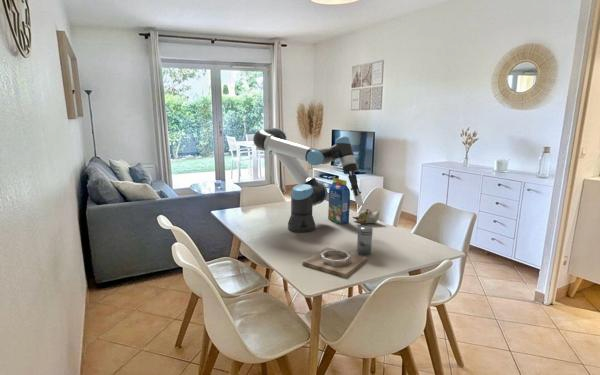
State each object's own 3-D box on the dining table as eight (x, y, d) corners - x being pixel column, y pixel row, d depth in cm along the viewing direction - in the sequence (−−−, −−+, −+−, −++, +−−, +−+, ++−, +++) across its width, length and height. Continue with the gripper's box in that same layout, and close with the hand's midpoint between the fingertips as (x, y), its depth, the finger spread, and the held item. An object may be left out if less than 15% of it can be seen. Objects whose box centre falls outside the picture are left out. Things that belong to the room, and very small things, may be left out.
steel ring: (315, 260, 149) (315, 256, 149) (330, 251, 159) (330, 247, 158) (341, 267, 142) (341, 263, 142) (354, 258, 152) (354, 253, 152)
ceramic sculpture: (381, 211, 199) (354, 212, 200) (381, 225, 201) (354, 227, 202) (377, 206, 210) (352, 207, 210) (377, 220, 211) (352, 221, 212)
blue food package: (336, 217, 216) (337, 177, 211) (349, 222, 206) (350, 180, 201) (327, 219, 213) (329, 178, 208) (340, 224, 203) (342, 181, 198)
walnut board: (302, 264, 148) (302, 261, 148) (326, 250, 164) (326, 247, 164) (345, 277, 137) (345, 274, 137) (366, 260, 153) (367, 257, 153)
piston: (354, 253, 161) (355, 228, 158) (360, 249, 166) (361, 224, 164) (367, 257, 157) (369, 231, 155) (373, 252, 162) (375, 227, 160)
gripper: (353, 157, 174) (365, 198, 169) (358, 168, 198) (368, 205, 193) (338, 161, 175) (349, 202, 170) (345, 172, 199) (355, 208, 194)
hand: (359, 204), depth 182 cm, fingers open, 13 cm apart
